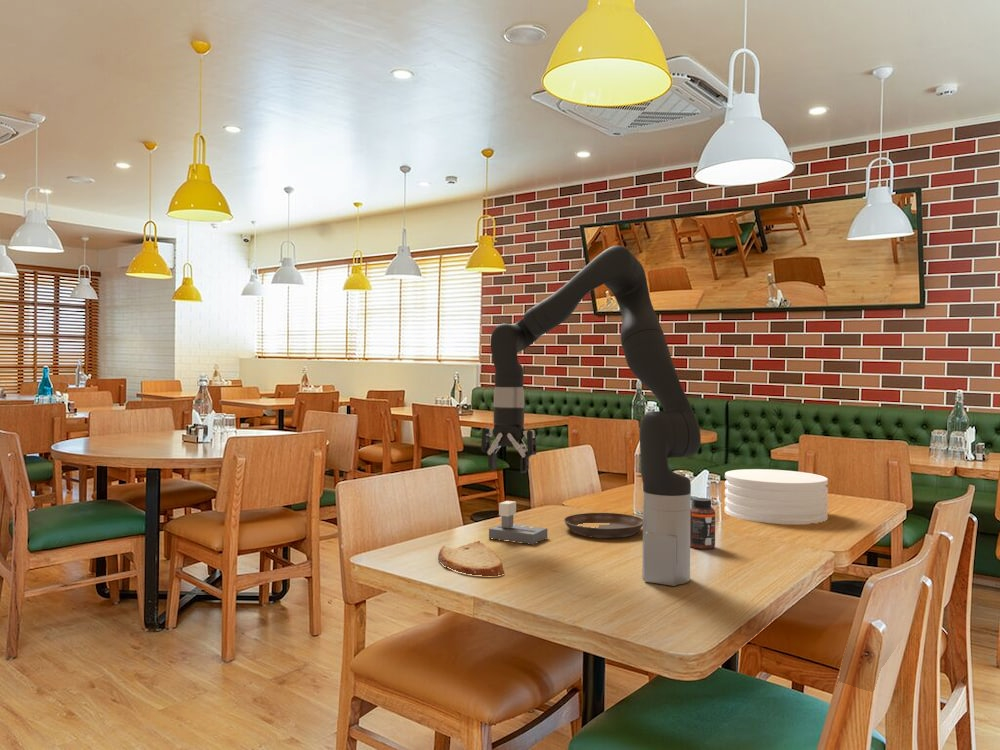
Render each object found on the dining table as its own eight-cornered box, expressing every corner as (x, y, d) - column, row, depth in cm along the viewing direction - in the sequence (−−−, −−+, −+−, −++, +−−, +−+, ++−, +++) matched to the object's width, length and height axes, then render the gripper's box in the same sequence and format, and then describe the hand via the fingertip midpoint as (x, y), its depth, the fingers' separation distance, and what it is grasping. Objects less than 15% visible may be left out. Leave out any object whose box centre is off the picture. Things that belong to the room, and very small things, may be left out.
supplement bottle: (716, 550, 163) (716, 501, 163) (689, 549, 164) (690, 500, 164) (713, 544, 169) (714, 497, 169) (688, 543, 170) (688, 496, 170)
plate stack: (717, 504, 222) (717, 468, 222) (810, 507, 218) (811, 470, 218) (734, 523, 195) (734, 481, 195) (841, 526, 191) (842, 484, 191)
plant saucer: (547, 529, 185) (547, 517, 185) (603, 520, 197) (603, 508, 197) (604, 545, 168) (604, 531, 168) (661, 534, 181) (661, 521, 181)
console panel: (532, 545, 167) (532, 534, 167) (488, 538, 173) (489, 528, 173) (547, 538, 174) (547, 527, 174) (504, 532, 180) (504, 522, 180)
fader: (508, 529, 171) (508, 504, 171) (498, 527, 173) (499, 503, 173) (515, 525, 175) (516, 501, 175) (506, 524, 176) (506, 500, 176)
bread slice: (498, 581, 139) (498, 562, 139) (416, 571, 145) (416, 553, 145) (526, 559, 156) (526, 542, 156) (451, 551, 162) (451, 535, 162)
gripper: (476, 405, 174) (475, 470, 174) (527, 407, 167) (527, 475, 167) (491, 403, 180) (490, 467, 181) (541, 405, 173) (541, 471, 174)
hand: (508, 471), depth 174 cm, fingers open, 8 cm apart
